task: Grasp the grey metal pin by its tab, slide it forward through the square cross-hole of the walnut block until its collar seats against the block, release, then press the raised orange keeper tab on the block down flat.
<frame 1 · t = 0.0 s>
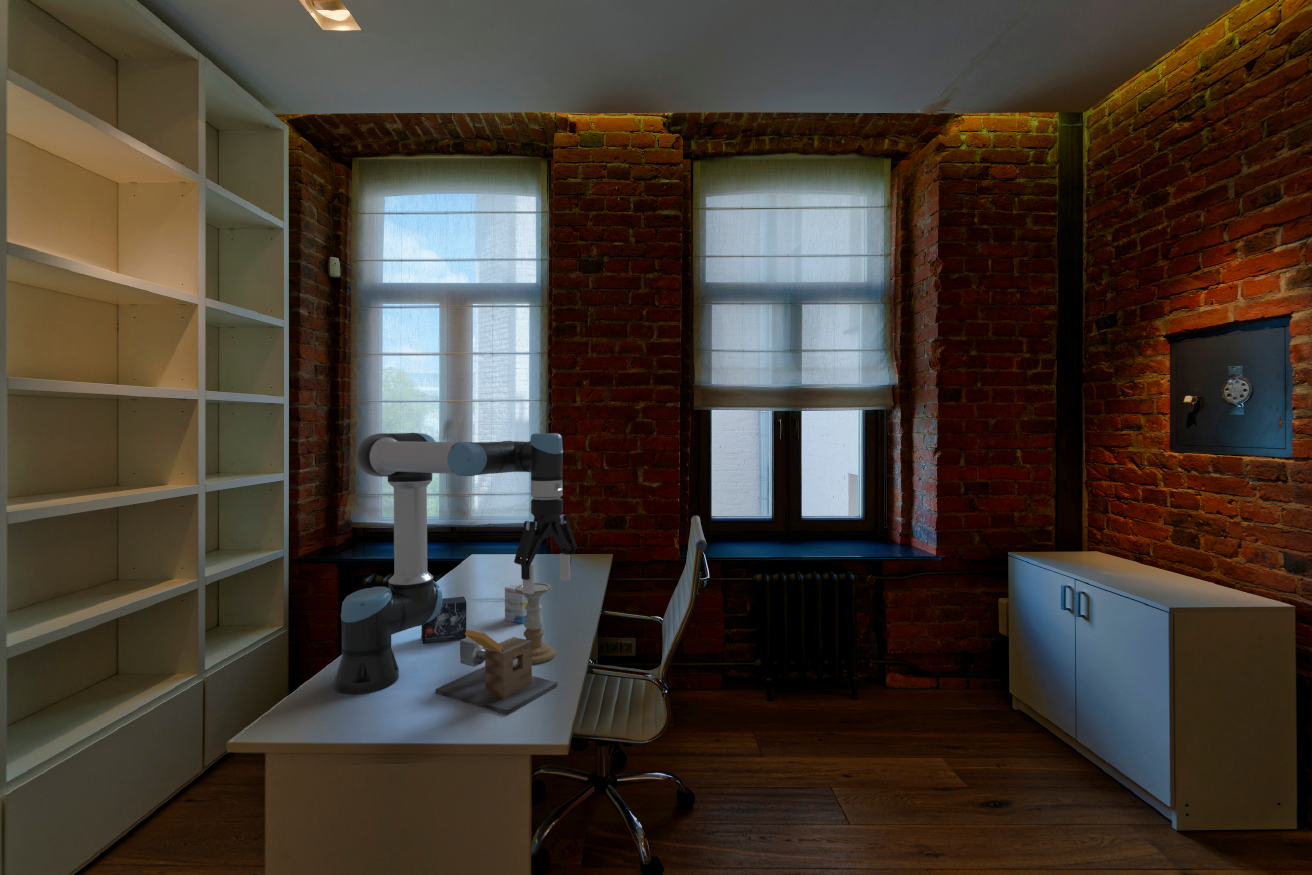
hand: (547, 586, 146), 28 cm above the table, fingers open, 13 cm apart
hitch block: (509, 692, 152), on the table
ink box: (522, 619, 212), on the table
small box: (443, 639, 192), on the table
candle holder: (533, 656, 177), on the table
keeper tab: (485, 641, 145), point 15 cm above the table, hinge at 40.0°
lynch pin: (489, 656, 155), point 8 cm above the table, slide at 0.0 cm
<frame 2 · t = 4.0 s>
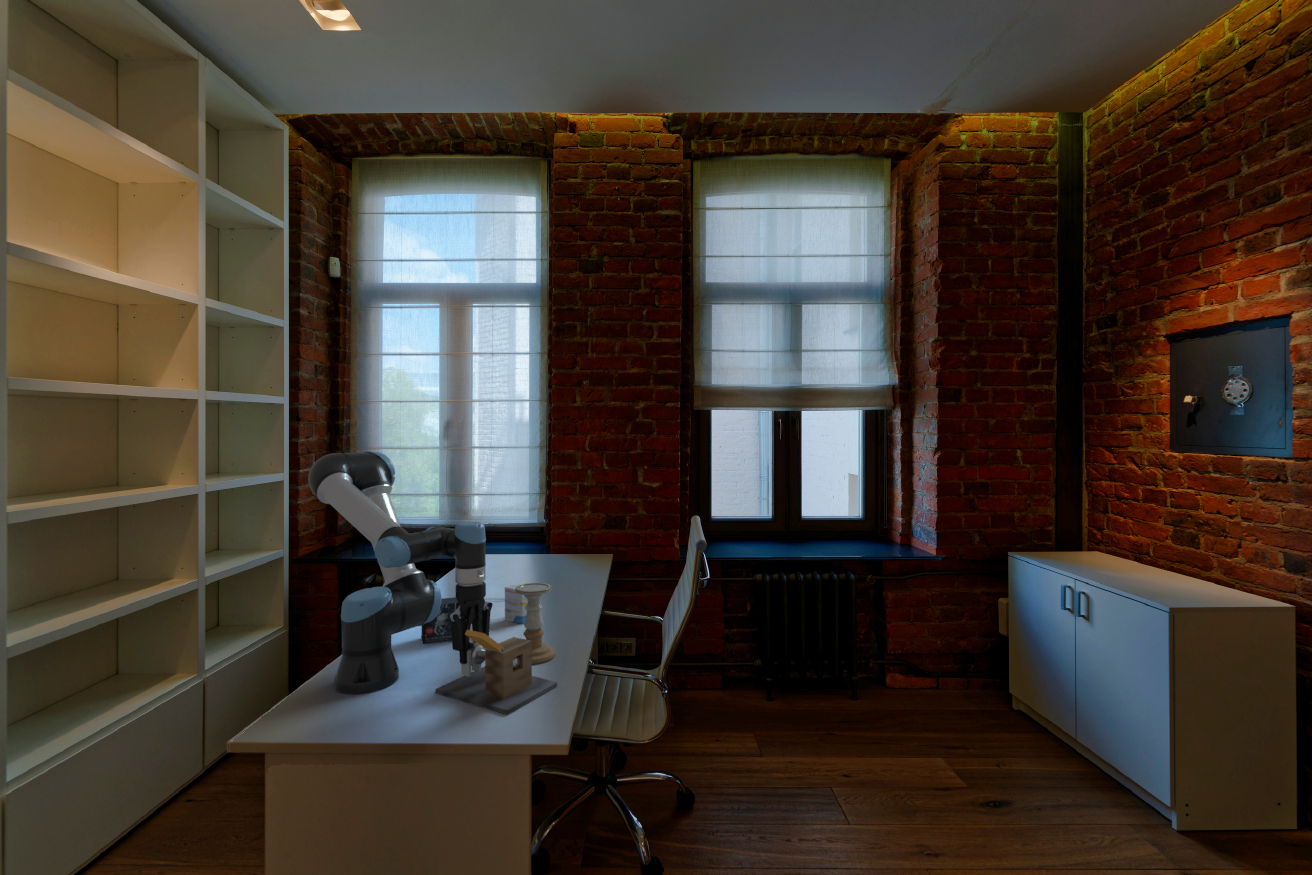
hand: (471, 672, 159), 3 cm above the table, fingers closed on lynch pin, 3 cm apart
lynch pin: (489, 656, 155), point 8 cm above the table, slide at 0.0 cm, touching gripper
everything else where it was.
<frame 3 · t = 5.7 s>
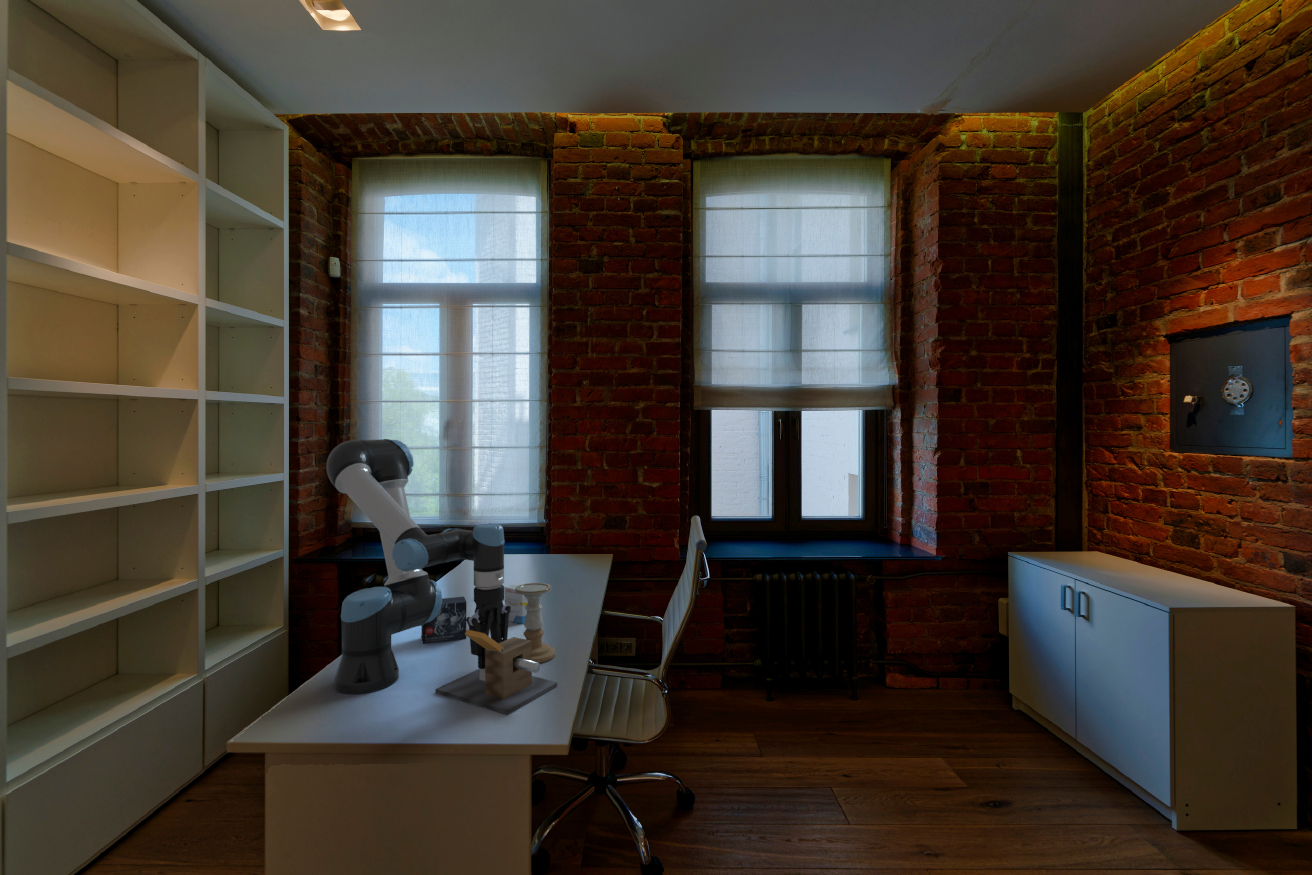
hand: (489, 677, 155), 3 cm above the table, fingers closed on lynch pin, 3 cm apart
lynch pin: (508, 660, 152), point 8 cm above the table, slide at 6.5 cm, touching gripper
everything else where it was.
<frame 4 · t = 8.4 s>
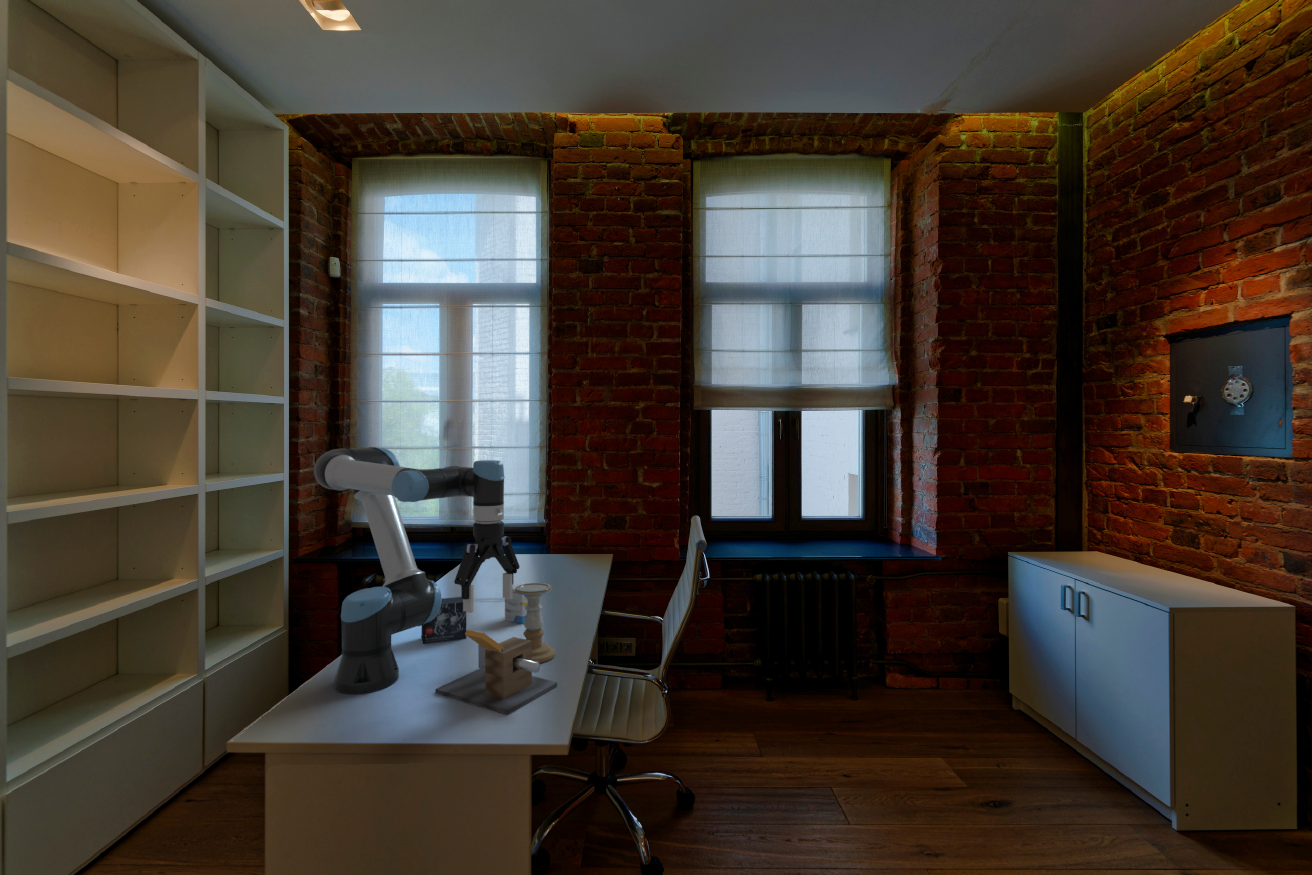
hand: (488, 604, 155), 21 cm above the table, fingers open, 13 cm apart
lynch pin: (508, 660, 152), point 8 cm above the table, slide at 6.5 cm
everything else where it was.
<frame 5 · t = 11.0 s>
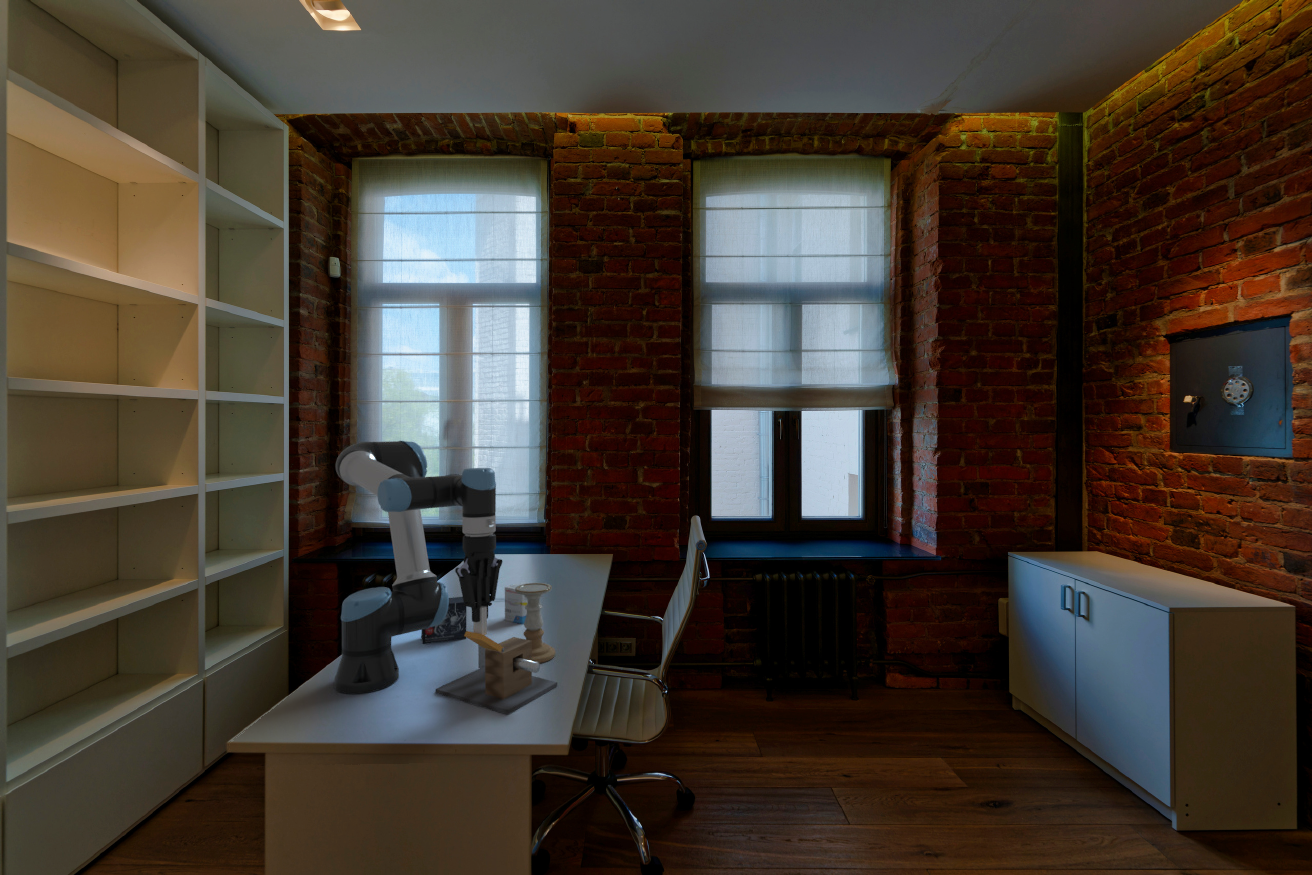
hand: (480, 634, 144), 18 cm above the table, fingers closed
keeper tab: (484, 642, 145), point 15 cm above the table, hinge at 37.4°, touching gripper
everything else where it was.
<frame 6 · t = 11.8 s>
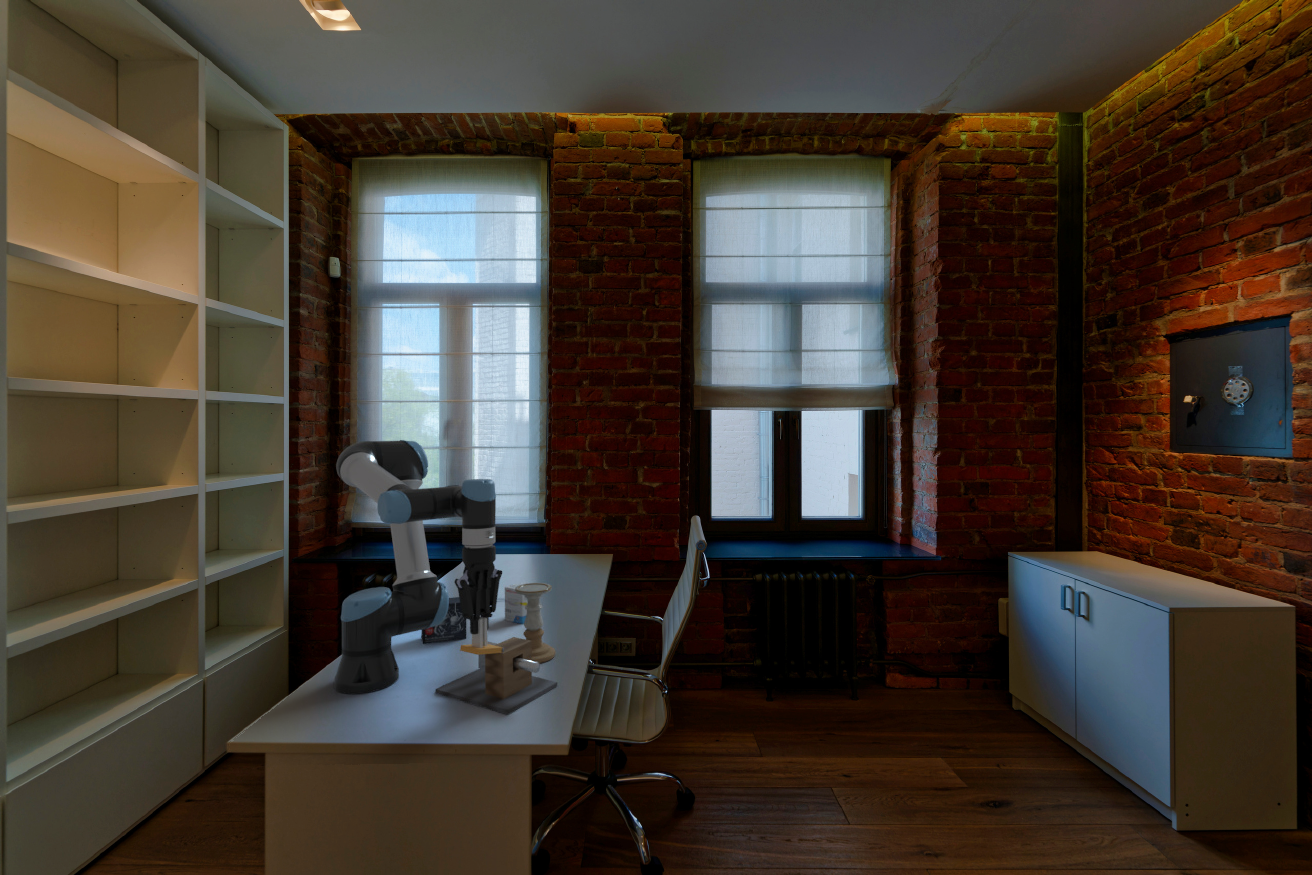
hand: (479, 645, 143), 15 cm above the table, fingers closed, pressing on keeper tab
keeper tab: (482, 648, 145), point 14 cm above the table, hinge at 14.4°, touching gripper
everything else where it was.
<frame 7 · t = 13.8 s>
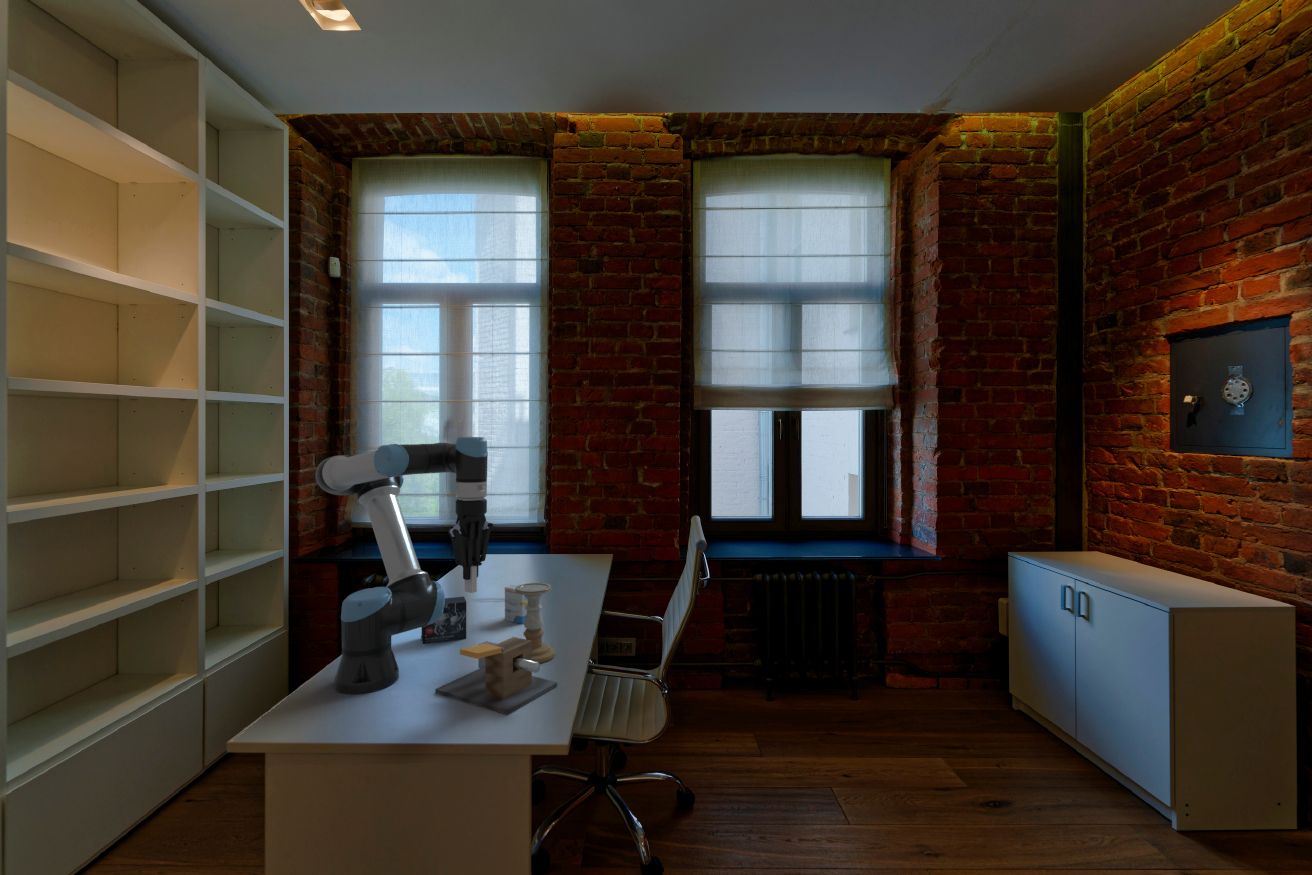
hand: (470, 591, 154), 25 cm above the table, fingers closed
keeper tab: (482, 650, 144), point 13 cm above the table, hinge at 8.2°
everything else where it was.
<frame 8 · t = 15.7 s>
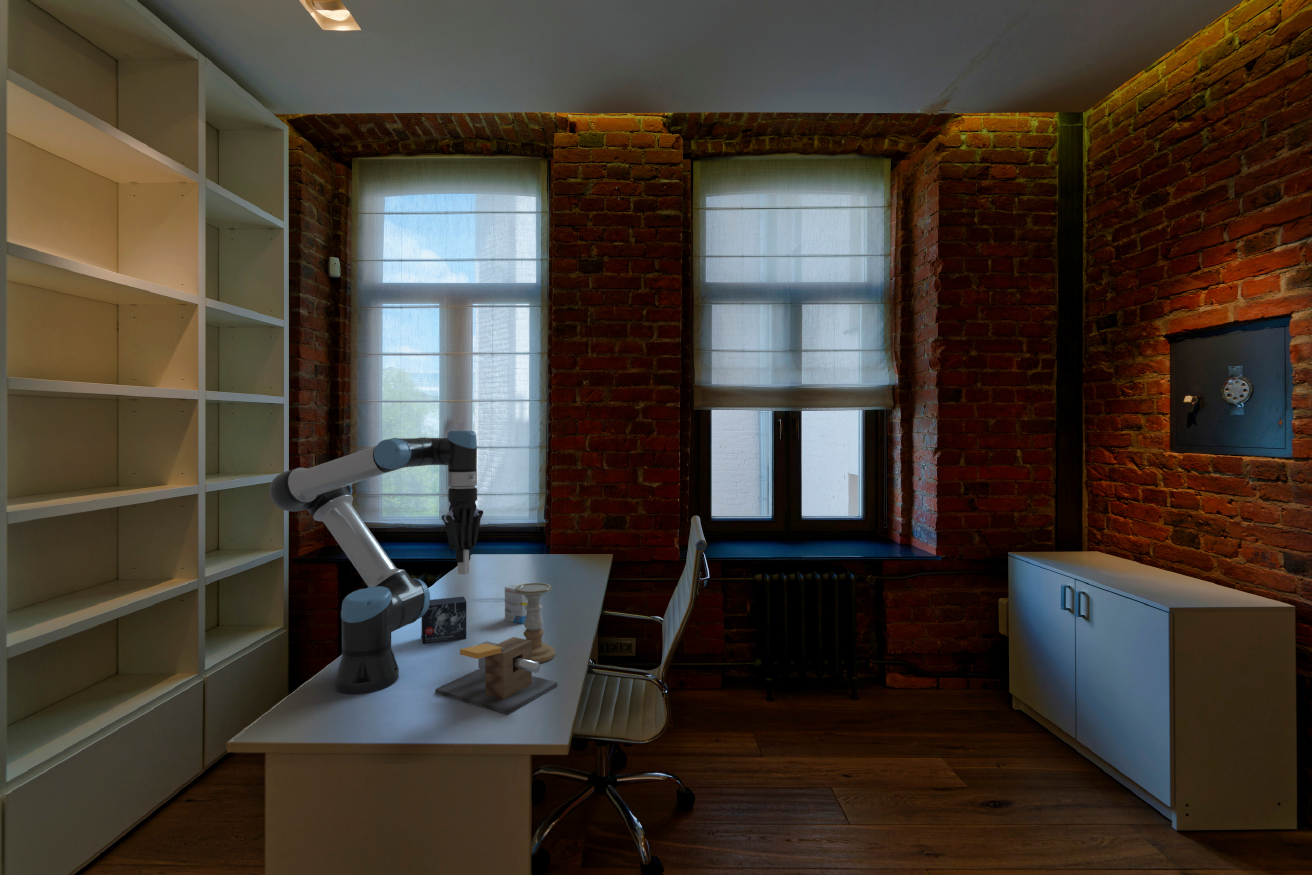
hand: (463, 573, 167), 26 cm above the table, fingers closed
nothing on the table moved.
at the end: lynch pin slide at 6.5 cm; keeper tab at +8° (first picture: +40°); the gripper is holding nothing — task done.
